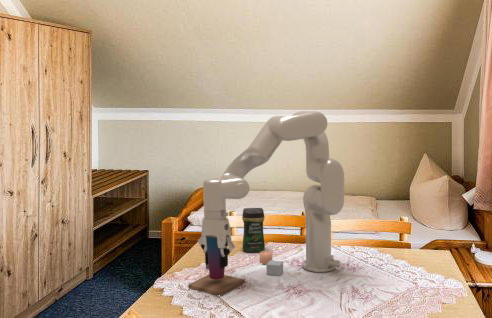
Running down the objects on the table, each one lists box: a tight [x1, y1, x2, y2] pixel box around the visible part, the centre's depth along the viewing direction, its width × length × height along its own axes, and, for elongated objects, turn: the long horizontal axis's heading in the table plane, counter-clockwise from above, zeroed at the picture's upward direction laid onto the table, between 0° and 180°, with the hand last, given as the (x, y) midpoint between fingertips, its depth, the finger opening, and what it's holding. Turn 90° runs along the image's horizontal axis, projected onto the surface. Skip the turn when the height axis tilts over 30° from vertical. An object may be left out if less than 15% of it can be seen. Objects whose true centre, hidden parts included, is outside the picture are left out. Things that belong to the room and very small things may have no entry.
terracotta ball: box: [259, 250, 273, 265], centre depth 186 cm, size 5×5×4 cm
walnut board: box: [187, 274, 246, 297], centre depth 164 cm, size 14×14×1 cm
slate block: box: [266, 259, 284, 277], centre depth 175 cm, size 5×5×4 cm
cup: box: [206, 236, 225, 279], centre depth 163 cm, size 7×7×15 cm
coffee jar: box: [241, 207, 266, 253], centre depth 202 cm, size 10×8×19 cm
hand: (216, 264), depth 163 cm, fingers closed on cup, 6 cm apart
